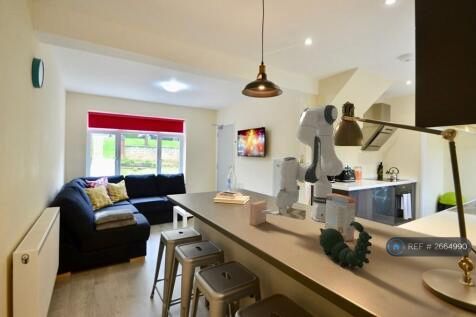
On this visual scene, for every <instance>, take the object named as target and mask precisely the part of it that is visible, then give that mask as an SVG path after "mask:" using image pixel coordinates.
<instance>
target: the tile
mask: <svg viewBox="0 0 476 317" xmlns="http://www.w3.org/2000/svg"><path fill="white" fill-rule="evenodd" d="M267 204H268V202H267V200H266V201H265V200H258V201H255V202H252V203H250V204H249V225H251V226H253V227H255V226H258V225H260V224H263V223H266V222H267V213H263V212H261V211H262V210H265V209H268V208H267V207H268V206H267Z"/></svg>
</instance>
